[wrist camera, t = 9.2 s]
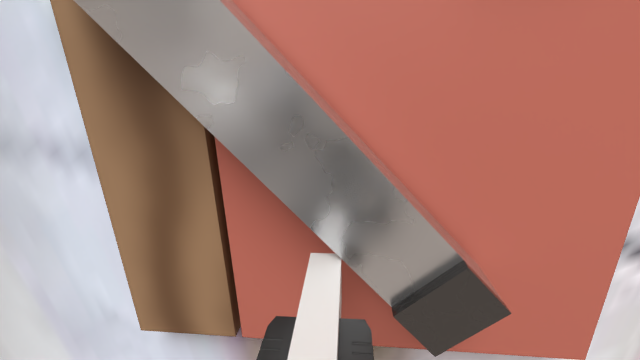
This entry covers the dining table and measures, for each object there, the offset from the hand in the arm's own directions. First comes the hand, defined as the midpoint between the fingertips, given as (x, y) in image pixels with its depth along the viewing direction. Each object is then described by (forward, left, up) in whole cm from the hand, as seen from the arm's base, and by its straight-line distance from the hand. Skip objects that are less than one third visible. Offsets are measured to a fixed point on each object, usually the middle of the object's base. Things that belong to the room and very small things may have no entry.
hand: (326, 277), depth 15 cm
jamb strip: (-10, +8, -5) cm, 14 cm away
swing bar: (-2, +8, -2) cm, 9 cm away
